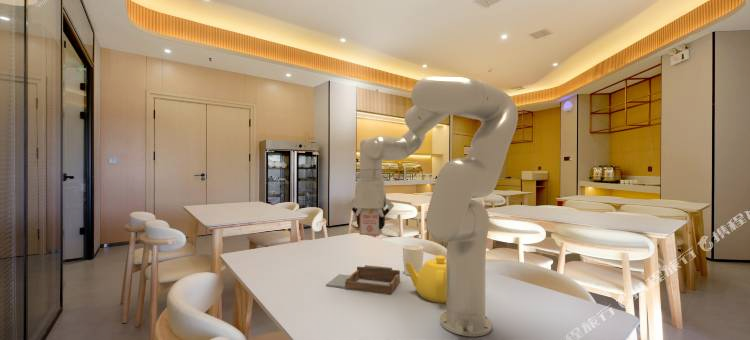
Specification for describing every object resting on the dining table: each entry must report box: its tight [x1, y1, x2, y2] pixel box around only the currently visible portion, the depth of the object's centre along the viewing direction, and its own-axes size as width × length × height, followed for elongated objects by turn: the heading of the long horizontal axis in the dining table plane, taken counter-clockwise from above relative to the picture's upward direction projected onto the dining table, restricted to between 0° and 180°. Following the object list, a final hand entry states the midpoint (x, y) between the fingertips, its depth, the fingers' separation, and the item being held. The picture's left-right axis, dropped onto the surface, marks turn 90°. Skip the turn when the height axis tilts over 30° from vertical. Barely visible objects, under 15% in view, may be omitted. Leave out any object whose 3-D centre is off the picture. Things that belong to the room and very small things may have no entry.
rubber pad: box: [325, 273, 352, 289], centre depth 111 cm, size 11×7×1 cm, turn 163°
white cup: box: [402, 244, 424, 276], centre depth 120 cm, size 8×8×10 cm
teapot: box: [406, 254, 446, 304], centre depth 100 cm, size 17×17×12 cm
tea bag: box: [359, 209, 383, 237], centre depth 107 cm, size 4×7×10 cm, turn 72°
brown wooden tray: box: [344, 264, 401, 296], centre depth 107 cm, size 12×16×5 cm
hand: (370, 227), depth 107 cm, fingers closed on tea bag, 6 cm apart
